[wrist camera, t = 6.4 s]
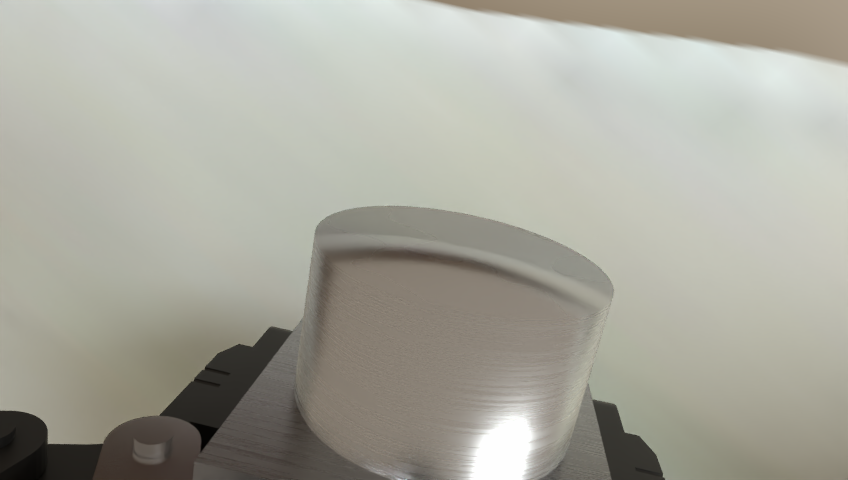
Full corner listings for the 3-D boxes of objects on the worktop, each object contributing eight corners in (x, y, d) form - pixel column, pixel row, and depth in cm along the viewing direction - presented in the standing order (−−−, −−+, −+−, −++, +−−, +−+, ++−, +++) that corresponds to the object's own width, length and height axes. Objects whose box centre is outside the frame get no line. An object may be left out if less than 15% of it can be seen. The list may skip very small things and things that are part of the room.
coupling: (616, 238, 12) (698, 382, 7) (519, 575, 14) (526, 868, 9) (334, 179, 12) (210, 274, 7) (285, 518, 15) (167, 770, 10)
